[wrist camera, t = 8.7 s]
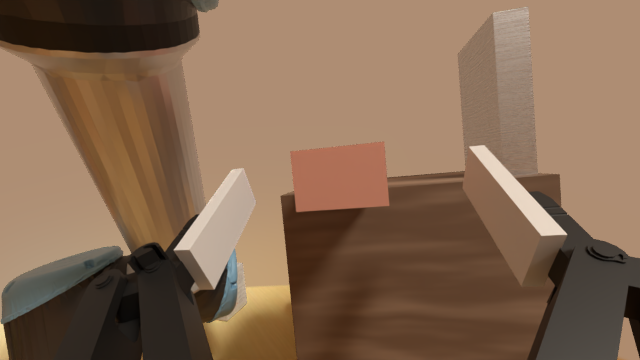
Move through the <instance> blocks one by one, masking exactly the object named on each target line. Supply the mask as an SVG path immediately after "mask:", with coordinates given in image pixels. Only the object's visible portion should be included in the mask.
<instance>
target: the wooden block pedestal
mask: <svg viewBox="0 0 640 360" xmlns="http://www.w3.org/2000/svg"><path fill="white" fill-rule="evenodd" d="M464 174H465V171H460V172H449V173H437V174H425V175H414V176H401V177H389V178H387V183H388V195H389V206H380V207H365V208H349V209H334V210H319V211H304V212H296V204H295V194H294V191H293V192H290V193H287V194H285V195H282V196H281V203H282V214H283V224H284V233H285V244H286V253H287V264H288V274H289V284H290V294H291V303H292V313H293V323H294V333H295V343H296V353H297V360H527V358H528V356H529V353H530V350H531V347H532V345H533V342H534V339H535V337H536V334H537V331H538V328H539V326H540V323H541V320H542V318H543V315H544V312H545V309H546V307H547V304H548V303H546V302H547V300H548V298H549V296H550V294H551V292H552V290H553V288H554V286H555V285H554V283H553V282H552V281H551V279H550V278H549V276H548V278H547V280H546V282H545V284H544V286H521V285H520V283H519V282H518V280H517V278H516V277H515V275H514V273H513V272H512V270H511V268H510V267H509V265H508V263H507V262H506V260H505V258H504V257H503V255H502V253H501V252H500V250H499V248H498V247H497V245H496V243H495V242H494V240H493V238H492V237H491V235H490V233H489V232H488V230H487V228H486V227H485V225H484V223H483V222H482V220H481V218H480V217H479V215H478V213H477V211H476V210H475V208H474V206H473V205H472V203H471V201H470V200H469V198H468V196H467V195H466V193H465V191H464V190H463V188H462V187H463V181H464ZM513 177H514V178H515V179H516V180H517V181H518V182H519V183H520V184H521V185H522V186H523V187H524V188H525V189H526V191H527V192H534V191H539V192H541V193H543V194H545V195H547V196H549V197H551V198H552V199H553V200H554V201H555V202H556V203H557V204H558V205H559V206H560V208H561V193H560V175H559V174H542V173H538V174H528V175H515V176H513Z"/></svg>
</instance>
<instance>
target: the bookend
mask: <svg viewBox="0 0 640 360" xmlns="http://www.w3.org/2000/svg"><path fill="white" fill-rule="evenodd" d="M458 65H459V80H460V94H461V108H462V123H463V136H464V152H465V166H466V161H467V155H468V148H469V147H470V146H480V145H485V147H486V148H487V149H488V150H489V151H490V152H491V153H492V154H493V155H494V156H495V157H496V158H497V159H498V161H499V162H500V163H501V164H502V165H503V166H504V167H505V168H506V169H507V170H508V171H509V172H510V173H511V174H512V176H515V175H528V174H538V170H537V154H536V153H537V152H536V135H535V118H534V100H533V82H532V64H531V47H530V29H529V12H528V7H523V8H517V9H512V10H506V11H501V12H495V13H492V14H491V16H490V17H489V18H488V19H487V20H486V22H485V23H484V24H483V25H482V26H481V27H480V29H479V30H478V31H477V32H476V33H475V35H474V36H473V37H472V38H471V39H470V41H469V42H468V43H467V44H466V45H465V46H464V47H463V49H462V50H461V51H460V52H459V53H458Z"/></svg>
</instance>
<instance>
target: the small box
mask: <svg viewBox="0 0 640 360" xmlns="http://www.w3.org/2000/svg"><path fill="white" fill-rule="evenodd" d="M237 273H238V277H237V286H238V291H237V302H236V306H235V308H234V310H233V311H232V312H231V313H230V314H229V315H227V316H224V317H221V318H218V319H216V320H222V321H228V320H229V319H230V318H231V317H232V316H234V315H235V314H236V313H237V312H238V311H239V310H240V309H241V308H242V307H243V306H244V305H246V304H247V297H246V288H245V279H244V270H243V263H237Z"/></svg>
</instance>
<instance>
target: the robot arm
mask: <svg viewBox="0 0 640 360" xmlns="http://www.w3.org/2000/svg"><path fill="white" fill-rule="evenodd" d="M218 1H219V0H0V48H2V49H4V50H6V51H8V52H10V53H12V54H14V55H16V56H18V57H20V58H22V59H24V60H26V61H28V62H30V63H31V64H32V66H33V68H34V70H35V72H36V73H37V75H38V77H39V79H40V81H41V83H42V85H43V87H44V89H45V90H46V92H47V94H48V96H49V98H50V100H51V102H52V104H53V106H54V108H55V109H56V111H57V113H58V115H59V117H60V119H61V121H62V123H63V125H64V127H65V128H66V130H67V132H68V134H69V136H70V138H71V140H72V141H73V143H74V145H75V147H76V149H77V151H78V153H79V155H80V157H81V159H82V160H83V162H84V164H85V166H86V168H87V170H88V172H89V174H90V176H91V177H92V179H93V181H94V183H95V185H96V187H97V189H98V191H99V193H100V195H101V197H102V198H103V200H104V202H105V204H106V206H107V208H108V210H109V212H110V214H111V215H112V217H113V219H114V221H115V223H116V225H117V227H118V229H119V231H120V232H121V234H122V236H123V238H124V240H125V242H126V243H127V246H128V247H129V249H130V251H131V253H132V254H131V255H128V256H123V251H122V250H121V248H120V247H119V246H112V247H103V248H99V249H95V250H91V251H87V252H84V253H80V254H77V255H74V256H70V257H67V258H63V259H61V260H58V261H54V262H52V263H49V264H46V265H43V266H41V267H38V268H36V269H33V270H31V271H28V272H26V273H24V274H22V275H20V276H18V277H16V278H15V279H13V280H12V281H11V282H9V283H8V284H7V285H6V287H5V288H4V290H3V292H2V319H1V324H3V325H4V331H5V337H6V343H7V349H8V355H9V360H141V356H142V352H143V360H213V358H212V354H211V351H210V348H209V344H208V341H207V337H206V334H205V330H204V327H203V324H202V323H205V322H206V323H210V322H212V321H215V320H216V319H218V318H221V317H224V316H227V315H229V314H230V313H231V312H232V311H233V310H234V308H235V306H236V302H237V291H238V286H237V277H238V273H237V260H236V252H235V245H236V244H237V242H238V240H239V237H240V235H241V233H242V231H243V229H244V227H245V225H246V223H247V221H248V219H249V217H250V215H251V212H252V210H253V208H254V206H255V204H256V201H255V198H254V195H253V193H252V190H251V187H250V185H249V182H248V180H247V177H246V174H245V171H244V169H243V168H241V169H232V170H231V172H230V173H229V175H228V176H227V177H226V179H225V180H224V181H223V183H222V184H221V186H220V187H219V188H218V190H217V191H216V192H215V194H214V195H213V197H212V198H211V199H210V201H209V202H208V203H207V205H206V203H205V197H204V191H203V186H202V180H201V174H200V168H199V162H198V156H197V150H196V144H195V138H194V132H193V126H192V120H191V115H190V108H189V103H188V97H187V91H186V85H185V79H184V73H183V67H182V61H181V60H182V57H183V56H184V55H185V53H187V52H188V51H189V50H190V48H191V47H192V46H193V45H194V44H195V43H196V42H197V41H198V40H199V37H200V32H199V24H198V15H197V10H198V11H201V12H207V11H208V10H212V9H215V8H216V7H217V6H218ZM462 188H463V190H464V191H465V193H466V195H467V196H468V198H469V200H470V201H471V203H472V205H473V206H474V208H475V210H476V211H477V213H478V215H479V217H480V218H481V220H482V222H483V223H484V225H485V227H486V228H487V230H488V232H489V233H490V235H491V237H492V238H493V240H494V242H495V243H496V245H497V247H498V248H499V250H500V252H501V253H502V255H503V257H504V258H505V260H506V262H507V263H508V265H509V267H510V268H511V270H512V272H513V273H514V275H515V277H516V278H517V280H518V282H519V283H520V285H521V286H544V284H545V282H546V280H547V278H548V276H549V278H550V279H551V281H552V282H553V283H554V285H555V286H554V288H553V290H552V292H551V294H550V296H549V298H548V300H547V302H546V303H548V304H547V307H546V309H545V312H544V315H543V318H542V320H541V323H540V326H539V328H538V331H537V334H536V337H535V339H534V342H533V345H532V347H531V350H530V353H529V356H528V358H527V360H617V357H618V350H619V343H620V337H621V331H622V324H623V318H624V317H626V318H629V321H630V325H631V328H632V332H633V336H634V339H635V343H636V346H637V350H638V353H639V357H640V258H634V257H630V256H628V255H627V254H626V253H625V252H624V251H623V250H621V249H619V248H618V247H617V246H615V245H612V244H610V243H607V242H605V241H600V240H596V239H593V238H592V237H591V236H590V235H589V234H588V233H587V232H586V231H585V230H584V229H583V228H582V227H581V226H579V224H578V223H576V221H575V220H573V218H571V217H570V216H569V215H567V213H566V212H565V211H564V210H563V209H562V208H560V206H559V205H558V204H557V203H556V202H555V201H554V200H553V199H552V198H551V197H549V196H547V195H545V194H543V193H541V192H539V191H534V192H527V191H526V189H525V188H524V187H523V186H522V185H521V184H520V183H519V182H518V181H517V180H516V179H515V178H514V177H513V176H512V174H511V173H510V172H509V171H508V170H507V169H506V168H505V167H504V166H503V165H502V164H501V163H500V162H499V161H498V159H497V158H496V157H495V156H494V155H493V154H492V153H491V152H490V151H489V150H488V149H487V148H486V147H485V145H480V146H470V147H469V148H468V155H467V161H466V168H465V174H464V181H463V187H462Z"/></svg>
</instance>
